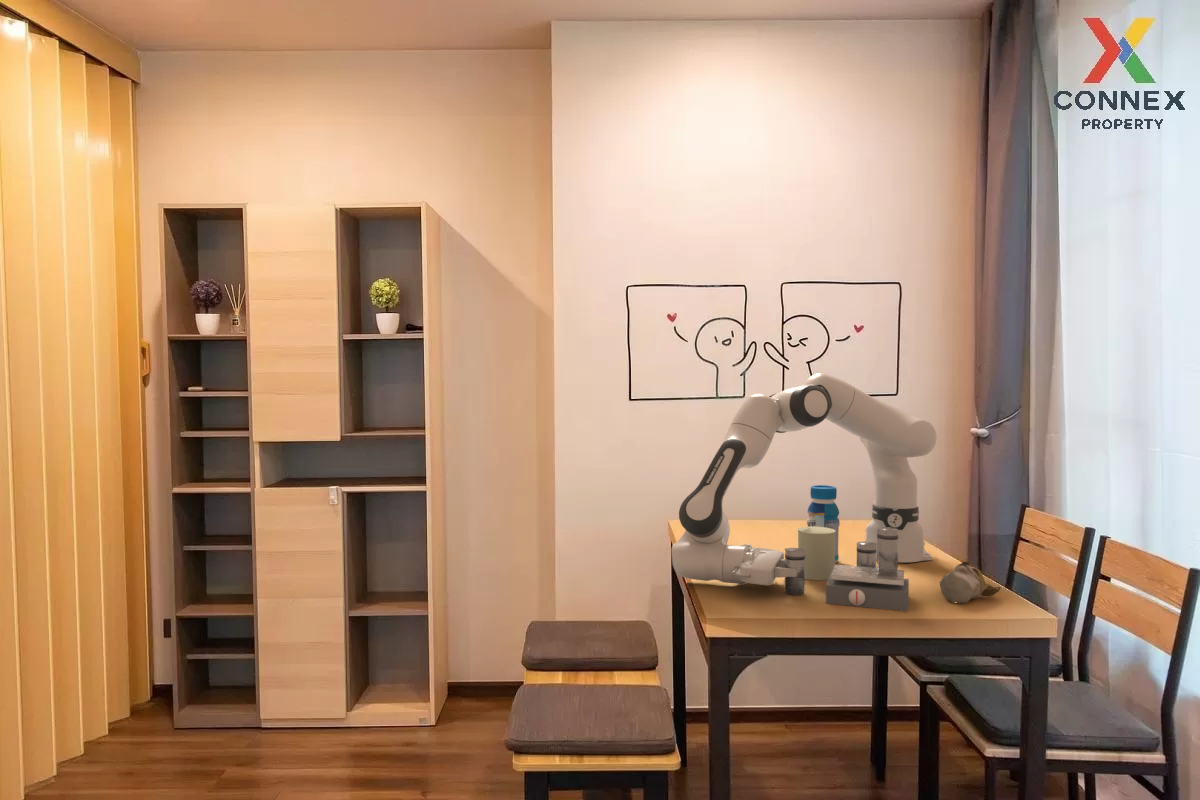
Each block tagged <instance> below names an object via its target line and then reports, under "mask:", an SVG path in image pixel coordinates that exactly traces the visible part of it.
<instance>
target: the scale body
mask: <svg viewBox="0 0 1200 800" xmlns="http://www.w3.org/2000/svg"><path fill="white" fill-rule="evenodd" d="M831 574H832V573H830V576H829V579H828V580H826V581H827V582H826V585H825V604H827V605H828V604H830V605H839V606H840V605H842V606H849V607H850V606H851V607H861V608H872V609H879V610H880V609H882V610H893V611H902V612H903V611H904V612H909V604H910V603H909V595H910V594H909V591H910V589H909V588H910V587H909V586H910V585H909V584H910V581H909V578H904V585H892V584H881V583H869V582H858V581H846V580H835V579H831Z"/></svg>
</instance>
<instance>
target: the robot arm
mask: <svg viewBox="0 0 1200 800" xmlns="http://www.w3.org/2000/svg"><path fill="white" fill-rule="evenodd" d="M825 420H828V421H829V422H831V423H833V424H835V425H836V426H838V427H840V428H842V430H845V431H847V432H849V433H850V434H851V435H855V436H857V437H859V440H860V442H861V443H862V444H863V446H864V448H865V450H866V452H867V454H868V457H869V461H870V463H871V469H872V472H873V473H872V476H873V492H874V493H873V498H874V499H873V504H872V505H871V506H872V508H871V513H872V514H871V518H872V520H871V521H870V522H869V523H867V525H866V528H865V533H866V534H865V542H873V543H876V560H877V528H879V527H891V528H896V529H898V563H916V562H917V563H918V562H923V561H932V560H933V556H932V555H931V554H930V553H929V552H928V551H927V550H926V549H925V545H926V542H925V529H924V528H923V526H922V525H921V524H920V523H919V519H920V518H919V515H920V511H919V506H918V478H917V476H916V474H915V472H914V470H912V469H911V466H910V463H909V461H908V458H919V457H922V456H923V457H925V456H926V455H928V454H929V453H931V452H932V451H933V450H934V448H935V446H936V443H937V432H936V429H935V427H934V426H933V424H932V423H930V422H929V421H927V420H925V419H922V418H920V417H918V416H915V415H913V414H911V413H908V412H907V411H904V410H902V409H900V408H897V407H896V406H893V405H892V404H889V403H887V402H884V401H881V400H878V399H877V398H875V397H872V396H870V395H869V394H868V393H865V392H864V391H863V390H861V389H859V388H857V387H855V386H853V385H852V384H851V383H848V382H847V381H844V380H842V379H840V378H838V377H835V376H832V375H830V374H827V373H822V372H817V373H814V374H812V375H811V376H809V377H808V378H807V379H806V380H805V382H804V383H803V385H800V386H796V387H795V386H793V387H791V388H786V389H784V390H782V391H780V392H777V393H774V394H771V395H769V396H768V395H767V394H763V393H754V394H751V395H750V396H748V397H747V398H746V400H745V399H744V402H743V403H742V404H741V406H740V407H739V409H738V410H737V412H736V413H735V415H734V417H733V419H732V422H731V423H730V425H729V428H728V430H727V432H726V433H725V437H724V439H723V441H722V443H721V445H720V446H719V448H718V450H717V451H716V453H715V455H714V457H713V458H712V460H711V462H710V464H709V466H708V468H707V470H706V471H705V473H704V474H703V476H702V479H701V481H700V482H699V484H698V485H697V487H695V489H694V490H692V492H690V493H689V495H687V497H686V498H684V499H683V501H682V502H681V504H680V507H679V511H678V518H679V522H680V524H681V526H682V527H683V528H684V530H685V531H684V532H683V534H682V535H681V537H680V538H679V539H678V540H677V541H676V542H675V543H673V544H672V546H671V548H670V549H671V550H670V559H671V560H670V561H671V565H672V568H673V569H674V572H675V573H676V574H677V575H678V576H679V577H682V578H686V579H690V580H696V581H704V582H705V581H706V582H709V581H719V582H721V583H727V584H737V585H746V584H752V585H759V586H771V585H773V583H774V582H775V580H776V579H777V578H785V577H796V576H797V568H792V567H790V568H785V552H784V551H781V550H778V549H771V548H766V547H765V548H763V547H753V545H752V544H742V545H736V544H734V545H733V544H728V541H729V537H730V533H731V525H730V523H729V520H728V517H727V515H726V514H725V512H724V510H723V502H724V501H723V500H724V497H725V496H726V495H725V494H726V493H727V491H728V489H729V487H730V485H731V484H732V481H733V479H734V477H735V475H736V474H737V472H738V471H739V470H740V469H751V468H755V467H757V466H758V465H759V464H760V463H761V462H762V460H764V458H765V456H766V455H767V453H768V450H769V448H770V447H771V443H772V441H773V439H774V436H775V433H778V434H784V433H787V432H788V433H791V432H797V431H801V430H804V429H807V428H809V427H814V426H817V425H819V424H821V423H822V422H823V421H825Z"/></svg>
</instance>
